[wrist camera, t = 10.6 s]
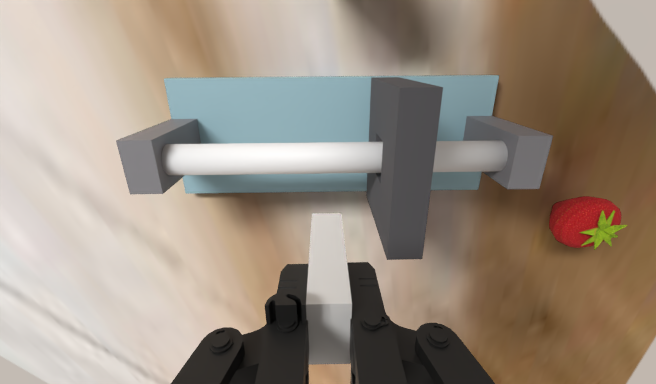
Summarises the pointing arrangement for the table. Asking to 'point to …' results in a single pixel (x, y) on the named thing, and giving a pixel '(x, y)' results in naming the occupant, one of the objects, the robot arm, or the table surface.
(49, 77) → the table surface
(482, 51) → the table surface
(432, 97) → the dark grey square plate
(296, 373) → the robot arm
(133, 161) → the pipe stand
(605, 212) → the strawberry
